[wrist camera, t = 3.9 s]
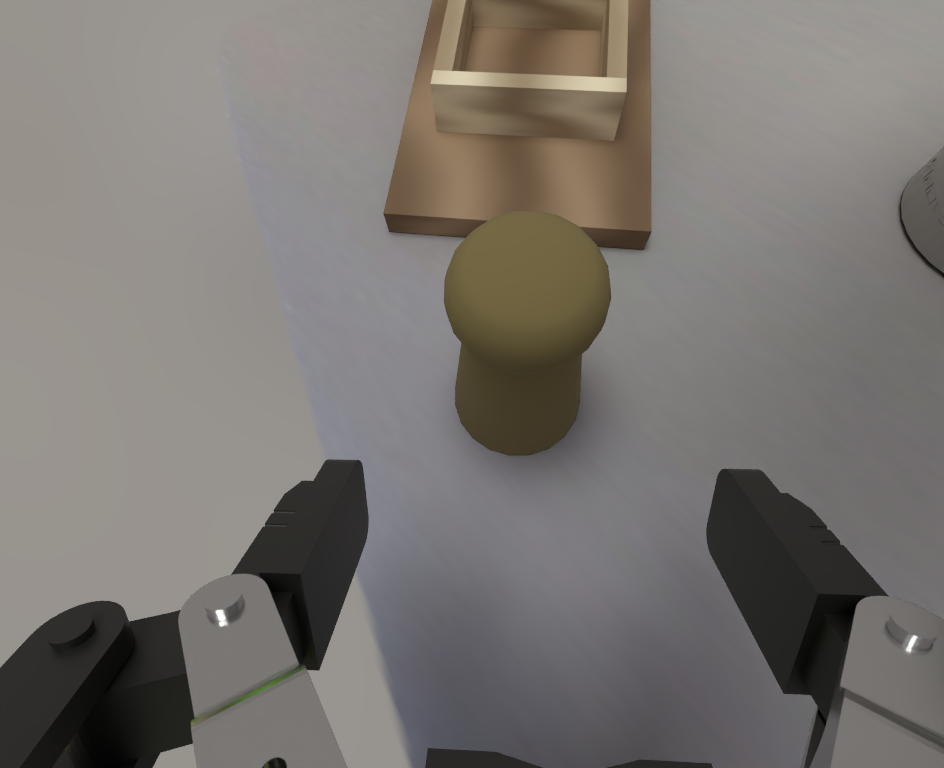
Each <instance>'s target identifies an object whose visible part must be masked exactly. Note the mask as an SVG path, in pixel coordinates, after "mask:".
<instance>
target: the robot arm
mask: <svg viewBox="0 0 944 768" xmlns="http://www.w3.org/2000/svg"><path fill="white" fill-rule="evenodd" d="M901 212H902V220H903V223H904V225H905V228H906V231H907V234H908V235H909V237H910V238H911V240H912V242H913V243H914V245H915V246H916V248H917V249H918V250H919V251H920V252H921V253H922V255H923V256H924V257H925V258H926V259H927V260H928V261H929V262H930V263H931V264H932V265H934V266H935V267H936V268H938V269H939V270H940V271H941V272H943V273H944V147H943V148H942V149H941V150H940V151H939V152H938V153H937V154H936V155H935V156H934V157H933V158H932V159H931V160H930V161H929V162H928V163H927V164H926V165H925V166H924V167H923V168H922V169H921V170H920V171H919V172H918V173H917V174H916V175H915V176H914V177H913V178H912V179H911V180H910V181H909V183H908V185H907V186H906V188H905V190H904V192H903V197H902V201H901ZM367 533H368V508H367V499H366V490H365V482H364V473H363V466H362V463H361V461H360V460H326V461H325V462H324V464H323V466H322V467H321V469H320V471H319V472H318V474H317V476H316V478H315V479H314V481H301V482H300V483H299V484H298V485H296V486H295V487H294V488H292V489H291V490H289V491H288V492H287V493H285V494H284V496H283V497H282V499H281V500H280V502H279V503H278V505H277V506H276V508H275V509H274V513H272V514H271V515H270V517H269V518H268V520H267V521H266V523H265V527H263V528H262V529H261V531H260V532H259V533H258V535H257V537H256V538H255V539H254V541H253V543H252V544H251V546H250V547H249V549H248V550H247V552H246V553H245V555H244V556H243V558H242V559H241V561H240V562H239V564H238V565H237V567H236V568H235V570H234V571H233V573H232V574H231V575H229V576H225V577H222V578H219V579H216V580H214V581H212V582H210V583H208V584H206V585H204V586H203V587H201V588H200V589H199V590H197V591H196V592H195V593H194V594H193V595H191V596H190V598H189V599H188V600H187V601H186V602H185V604H184V605H183V607H182V609H181V610H179V611H175V612H172V613H167V614H162V615H158V616H154V617H148V618H144V619H139V620H135V621H130V622H129V620H128V618H127V615H126V613H125V610H124V608H123V607H122V606H121V605H119V604H117V603H115V602H111V601H95V602H90V603H86V604H82V605H79V606H76V607H74V608H71V609H69V610H67V611H64V612H62V613H60V614H59V615H57V616H55V617H53V618H52V619H50V620H49V621H47V622H46V623H44V624H43V625H42V626H40V627H39V628H38V629H37V630H36V631H35V632H34V633H33V634H32V635H31V636H29V638H28V639H27V640H26V641H25V642H24V643H23V644H22V645H21V646H20V647H19V648H18V649H17V651H16V652H15V653H14V654H13V655H12V656H11V657H10V658H9V659H8V660H7V661H6V662H5V664H4V665H3V666H2V667H1V668H0V768H152V767H153V765H154V764H155V762H156V759H157V758H158V756H159V754H160V752H164V751H167V750H171V749H174V748H178V747H182V746H185V745H189V744H192V743H193V745H194V752H195V757H196V764H197V768H347V766H346V763H345V761H344V758H343V756H342V753H341V751H340V749H339V746H338V744H337V741H336V739H335V736H334V734H333V732H332V729H331V727H330V724H329V722H328V719H327V717H326V715H325V712H324V710H323V707H322V705H321V703H320V700H319V698H318V695H317V693H316V690H315V688H314V686H313V683H312V681H311V678H310V676H309V673H308V671H307V670H319V669H320V667H321V664H322V661H323V658H324V655H325V653H326V650H327V647H328V644H329V642H330V639H331V636H332V634H333V631H334V628H335V625H336V623H337V620H338V617H339V614H340V611H341V609H342V606H343V603H344V601H345V598H346V595H347V592H348V590H349V587H350V584H351V581H352V579H353V576H354V573H355V570H356V568H357V565H358V562H359V559H360V557H361V554H362V551H363V548H364V546H365V543H366V539H367ZM706 535H707V544H708V548H709V551H710V554H711V556H712V558H713V560H714V562H715V564H716V566H717V568H718V570H719V571H720V573H721V575H722V577H723V579H724V581H725V583H726V585H727V587H728V589H729V590H730V592H731V594H732V596H733V598H734V600H735V602H736V604H737V606H738V608H739V609H740V611H741V613H742V615H743V617H744V619H745V621H746V623H747V625H748V627H749V629H750V630H751V632H752V634H753V636H754V638H755V640H756V642H757V644H758V646H759V648H760V649H761V651H762V653H763V655H764V657H765V659H766V661H767V663H768V665H769V667H770V668H771V670H772V672H773V674H774V676H775V678H776V680H777V682H778V684H779V686H780V687H781V689H782V691H783V693H784V694H802V695H811V696H812V698H813V699H814V701H815V703H816V704H817V709H816V711H815V714H814V716H813V719H812V723H811V727H810V731H809V735H808V739H807V743H806V748H805V752H804V756H803V760H802V764H801V768H944V621H943V620H942V619H941V618H939V617H938V616H936V615H934V614H933V613H931V612H929V611H927V610H926V609H924V608H922V607H919V606H917V605H915V604H913V603H910V602H907V601H904V600H901V599H897V598H893V597H889V596H888V595H887V594H886V593H885V592H884V590H883V589H882V588H881V587H880V586H879V585H878V584H877V583H876V581H875V580H874V579H873V578H872V577H871V576H870V575H869V574H868V572H867V571H866V570H865V569H864V568H863V567H862V566H861V565H860V563H859V562H858V561H857V560H856V559H855V558H854V557H853V555H852V554H851V553H850V552H849V551H848V550H847V549H846V548H845V546H844V545H840V541H839V540H838V539H837V537H836V536H835V535H834V534H833V533H832V532H831V531H830V530H827V526H826V525H825V524H824V523H823V522H822V520H821V519H820V518H819V517H818V516H817V515H816V514H815V513H814V511H813V510H812V509H811V508H809V507H808V506H806V505H805V504H803V503H802V502H800V501H799V500H797V499H796V498H794V497H792V496H791V495H789V494H788V493H780V492H779V490H778V489H777V488H776V487H775V486H774V484H773V483H772V482H771V481H770V480H769V478H768V477H767V476H766V475H765V474H764V473H763V472H762V471H761V470H753V469H722V470H721V471H720V472H719V474H718V477H717V481H716V485H715V490H714V495H713V499H712V504H711V509H710V513H709V518H708V523H707V530H706ZM426 768H542V767H539V766H536V765H533V764H530V763H527V762H524V761H521V760H518V759H515V758H512V757H509V756H506V755H503V754H500V753H498V752H487V751H468V750H450V749H431V748H428V752H427V760H426ZM609 768H713V767H712V764H710V763H691V762H673V761H654V760H637V761H633V762H629V763H625V764H621V765H617V766H613V767H609Z"/></svg>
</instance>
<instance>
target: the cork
mask: <svg viewBox="0 0 944 768" xmlns="http://www.w3.org/2000/svg"><path fill="white" fill-rule="evenodd" d="M610 301H611V288H610V280H609V271H608V265H607V263H606V261H605V259H604V257H603V255H602V253H601V252H600V250H599V248H598V246H597V245H596V244H595V242H594V241H593V240H592V239H591V238H590V237H589V236H588V235H587V234H586V233H585V232H584V231H583V230H582V229H581V228H580V227H579V226H578V225H576V224H574V223H572V222H570V221H568V220H566V219H564V218H562V217H561V216H559V215H555V214H550V213H546V212H541V211H537V210H534V211H513V212H510V213H507V214H503V215H500V216H497V217H493V218H492V219H490V220H488V221H487V222H485V223H484V224H482V225H480V226H479V227H477V228H476V229H474V230H473V231H472V232H471V233H470V234H469V235H468V236H467V237H466V238H465V240H464V241H463V242H462V243H461V244H460V245H459V247H458V248H457V249H456V250H455V252H454V255H453V257H452V260H451V262H450V265H449V267H448V270H447V273H446V277H445V287H444V304H445V308H446V313H447V315H448V318H449V321H450V324H451V327H452V330H453V332H454V334H455V335H456V337H457V338H458V339H459V340H460V341H461V350H460V358H459V365H458V372H457V380H456V387H455V406H456V409H457V412H458V415H459V418H460V421H461V423H462V425H463V426H464V427H465V428H466V430H467V431H468V432H469V434H470V435H471V436H472V438H473V439H475V440H476V441H478V442H479V443H481V444H482V445H484V446H485V447H486V448H488V449H489V450H493V451H496V452H499V453H503V454H506V455H531V454H534V453H537V452H540V451H543V450H546V449H548V448H550V447H551V446H552V445H554V444H555V443H556V442H558V441H559V440H560V439H562V438H563V437H564V436H565V435H566V433H567V432H568V430H569V429H570V427H571V426H572V424H573V423H574V421H575V418H576V414H577V410H578V407H579V402H580V381H581V361H582V353H583V352H585V351H586V350H587V349H588V348H589V347H590V345H591V344H592V342H593V341H594V339H595V338H596V337H597V335H598V334H599V332H600V331H601V329H602V327H603V325H604V323H605V320H606V316H607V312H608V309H609V305H610Z"/></svg>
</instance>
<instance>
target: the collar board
mask: <svg viewBox="0 0 944 768" xmlns="http://www.w3.org/2000/svg"><path fill="white" fill-rule="evenodd" d="M534 210H537V211H541V212H546V213H550V214H555V215H559V216H561V217H562V218H564V219H566V220H568V221H570V222H572V223H574V224H576V225H578V226H579V227H580V228H581V229H582V230H583V231H584V232H585V233H586V234H587V235H588V236H589V237H590V238H591V239H592V240H593V241H594V242H595V244H596V245H597V246H601V247H615V248H629V249H644V247H645V245H646V242H647V240H648V238H649V235H650V233H651V83H650V0H433V1H432V5H431V9H430V14H429V18H428V22H427V27H426V31H425V35H424V40H423V44H422V48H421V53H420V57H419V62H418V66H417V70H416V75H415V79H414V83H413V88H412V92H411V96H410V101H409V105H408V109H407V114H406V118H405V122H404V127H403V131H402V136H401V140H400V144H399V149H398V153H397V157H396V162H395V166H394V170H393V175H392V179H391V183H390V188H389V192H388V197H387V201H386V205H385V210H384V216H385V219H386V223H387V226H388V229H389V232H403V233H417V234H432V235H446V236H460V237H467V236H468V235H469V234H470V233H471V232H472V231H473V230H474V229H476V228H477V227H479V226H480V225H482V224H484V223H485V222H487V221H488V220H490V219H492V218H493V217H497V216H500V215H503V214H507V213H510V212H513V211H534Z"/></svg>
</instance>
